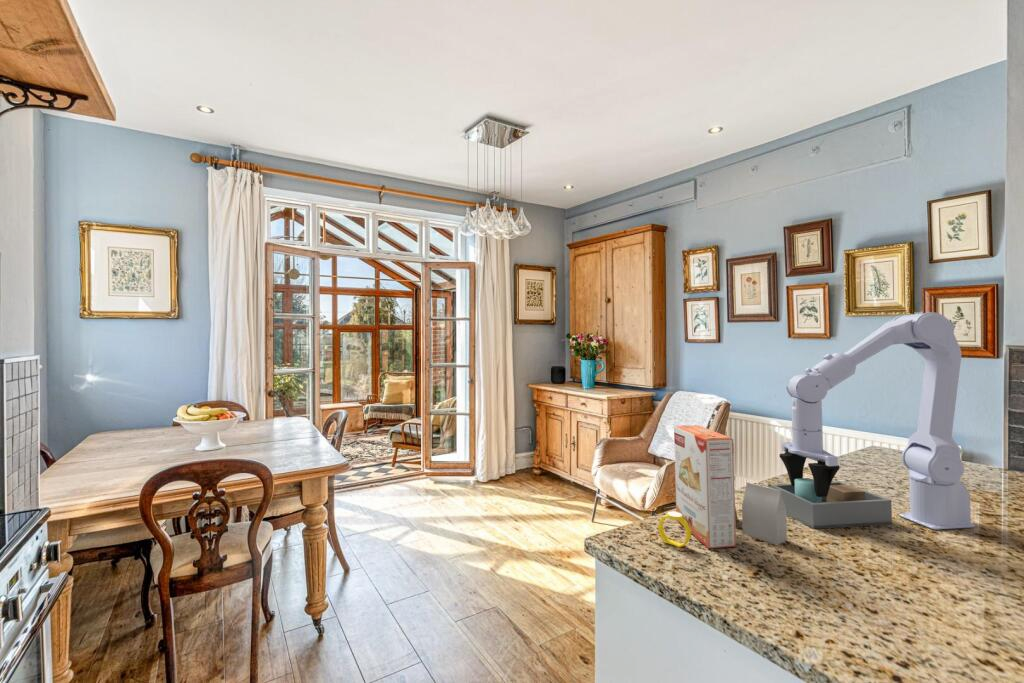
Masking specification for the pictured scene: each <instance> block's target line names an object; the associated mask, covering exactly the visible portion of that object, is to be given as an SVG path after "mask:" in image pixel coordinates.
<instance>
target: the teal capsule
mask: <svg viewBox="0 0 1024 683" xmlns="http://www.w3.org/2000/svg"><path fill="white" fill-rule="evenodd" d="M795 495H797V496H799V497H801V498H804V499H806V500H808V501H810V502H812V503H822V497H817V496H816V494H815V488H814V480H813V478H806V477H805V478H804V477H803V478H797V479H795Z"/></svg>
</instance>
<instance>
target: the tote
mask: <svg viewBox="0 0 1024 683" xmlns="http://www.w3.org/2000/svg"><path fill="white" fill-rule="evenodd" d="M831 485H849V486H852V487H855V488H857V489H860V490H863V491H865V500H861V501H843V502H827V497H822V503H812V502H810V501H808V500H806V499H804V498H801V497H799V496H797V495H795V486H792V485H791V483H782V484H781V483H780V484H779V483H778V484H770V485H769V486H770V487H769V488H773V489H777V490H781V491H782V497H783V501H784V504H785V508H786V516H788V517H790V518H792V519H794V520H796V521H798V522H799V523H802V524H803V525H806V526H807V527H809V528H811V529H812V530H816V529H833V528H837V529H838V528H850V527H851V528H852V527H866V526H867V527H868V526H884V525H885V526H886V525H893V518H892V515H893V513H892V511H893V510H892V499H889V498H886V497H883V496H880V495H877V494H875V493H873V492H871V491H870V492H869V491H867V490H864V489H861V488H858V487H856V486H853V485H850V484H848V483H845V482H842V481H838V480H837V481H832V482H831Z"/></svg>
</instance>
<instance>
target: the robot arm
mask: <svg viewBox="0 0 1024 683" xmlns="http://www.w3.org/2000/svg"><path fill="white" fill-rule="evenodd" d="M900 344H901V345H902V344H903V345H905V346H907V347H908V348H909V347H910V348H911V349H913V350H914V351H916V352H917V353H918V354H919V355H920V356H922V358H924V359H925V362H924V372H923V377H922V378H923V381H922V388H921V395H920V396H921V397H920V403H919V412H918V419H917V421H918V422H917V427H916V428H917V430H916V431H915V432H914V433H913V434H912V435H910V436H909V437H908V443H907V446H905V448H904V449H903V451H902V453H901V460H902V464H903V465H904V466H905V468H907V469H908V475H909V476H908V477H909V512H905V513H904V512H903V513H902V512H901V513H898V515H899V517H901V518H904V519H907V520H908V521H912V522H914V523H916V524H919V525H921V526H924V527H927V528H929V529H932V530H935V531H937V530H952V529H967V528H968V529H969V528H976V524H974V523H972V522H971V521H972V517H971V515H972V514H971V494H970V491H969V489H968V488H967V486H966V485H965V484H964V483H963V482H961V481H960V479H962V477H963V475H964V472H965V466H964V463H963V462H962V461H963V460H962V458H961V450H962V449H961V448H960V447H959V445H958V444H957V442H956V441H955V440H954V437H952V436H953V435H952V434H953V427H954V418H955V413H956V412H955V411H956V404H957V396H958V395H957V394H958V387H959V378H960V370H961V361H962V355H963V354H962V349H961V347H960V345H959V343H958V340H957V338H956V336H955V323H954V322H952V321H951V320H949V318H947V317H946V316H945V315H943V314H941V313H939V312H936V311H935V312H933V311H929V312H923V313H915V314H900V315H898V316H895V317H894V318H893V319H892V320H889V321H887V322H885V323H884V324H883V325H881V326H880V327H879V328H878V329H876V330H875V331H874V332H872V333H871V334H869V335H868V336H866V337H864V338H863V339H862V340H860V342H858V343H857V344H856V345H854V346H853V347H851V348H850V349H848V350H847V351H846V352H844V353H839V352H834V353H832V354H831V353H826V354H825V355H824V356H822V358H823V360H821V361H820V362H818V363H817V364H815V365H814V366H812V367H811V368H810V367H807V368H805V369H804V374H796V375H794V376H792V378H791V379H790V380H789V382H788V383H787V385H786V387H785V388H786V391H787V393H788V395H789V397H791V433H792V434H791V435H792V436H791V437H792V441H791V442H790V441H788V442H787V441H786V442H781V451H782V452H784V453H779V458H780V460H781V461H782V463H783V465H784V466H785V469H786V472H787V476H788V479H789V481H790V482H789V483H790V484H791V485H792V486H795V479H797V478H804V467H805V463H806V461H807V459H809V460H813V461H815V462H808V464H807V465H808V467H809V470H810V472H811V475H812V479H813V480H814V488H815V494H816V496H817V497H827V495H828V491H829V488H830V485H831V482H833V479H834V477H835V476H836V474H837V473H838V471H839V470H840V465H838V462H839V461H838V459H839V458H838V456H836V455H833V454H832V453H831V452H828V451H826V450H825V449H824V439H823V438H824V437H823V436H824V435H823V434H824V433H823V432H824V431H823V408H822V406H823V405H822V400H824V399H825V398H826V396H827V394H828V391H830V390H831V389H833V388H834V387H836V386H838V385H839V384H841V383H842V382H844V381H846V380H847V379H849V378H850V377H852V376H853V375H855V374H856V368H857V366H858V365H859V364H861V363H863V362H864V361H867V360H868V359H870V358H871V357H873V356H875V355H877V354H878V353H880V352H882V351H884V350H886V349H887V348H888V347H890V346H893V345H900Z"/></svg>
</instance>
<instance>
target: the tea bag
mask: <svg viewBox="0 0 1024 683" xmlns="http://www.w3.org/2000/svg"><path fill="white" fill-rule="evenodd" d="M745 484H746V485H745V490H744V494H743V498H742V503H741V505H742V506H741V507H742V508H741V511H742V515H741V516H742V534H743V535H746V536H749V537H751V538H754V539H757V540H760V541H764V542H766V543H770V544H772V545H775V546H778V545H780V544H783V543H784V542H787V541H788V533H787V532H788V530H787V529H788V527H787V515H786V508H785V504H784V501H783V497H782V491H781V490H777V489H773V488H770V487H768V486H763V485H760V484H757V483H751V482H746V483H745Z"/></svg>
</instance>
